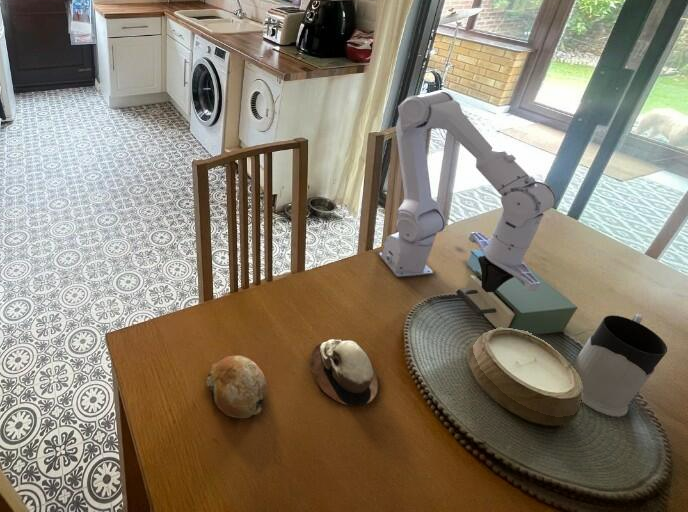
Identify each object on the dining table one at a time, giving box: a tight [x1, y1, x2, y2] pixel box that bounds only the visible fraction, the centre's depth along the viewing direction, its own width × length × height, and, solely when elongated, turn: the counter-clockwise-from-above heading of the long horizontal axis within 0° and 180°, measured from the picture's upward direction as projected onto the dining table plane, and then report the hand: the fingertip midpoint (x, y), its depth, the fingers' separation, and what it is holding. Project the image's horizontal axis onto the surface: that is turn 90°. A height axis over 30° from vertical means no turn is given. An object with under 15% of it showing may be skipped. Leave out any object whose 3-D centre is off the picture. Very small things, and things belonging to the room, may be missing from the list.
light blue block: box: [466, 249, 484, 272], centre depth 100 cm, size 5×5×4 cm
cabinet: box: [473, 264, 579, 336], centre depth 88 cm, size 13×12×7 cm
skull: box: [309, 338, 379, 407], centre depth 76 cm, size 12×10×10 cm
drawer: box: [455, 274, 517, 328], centre depth 88 cm, size 16×10×5 cm, turn 97°
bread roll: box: [206, 355, 268, 419], centre depth 73 cm, size 10×10×8 cm
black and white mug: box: [571, 313, 668, 417], centre depth 72 cm, size 9×14×15 cm, turn 126°
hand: (488, 289), depth 85 cm, fingers closed
